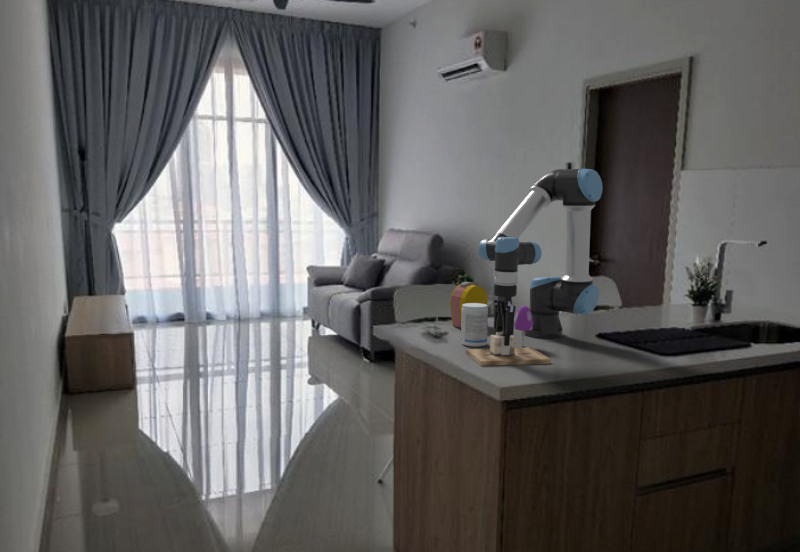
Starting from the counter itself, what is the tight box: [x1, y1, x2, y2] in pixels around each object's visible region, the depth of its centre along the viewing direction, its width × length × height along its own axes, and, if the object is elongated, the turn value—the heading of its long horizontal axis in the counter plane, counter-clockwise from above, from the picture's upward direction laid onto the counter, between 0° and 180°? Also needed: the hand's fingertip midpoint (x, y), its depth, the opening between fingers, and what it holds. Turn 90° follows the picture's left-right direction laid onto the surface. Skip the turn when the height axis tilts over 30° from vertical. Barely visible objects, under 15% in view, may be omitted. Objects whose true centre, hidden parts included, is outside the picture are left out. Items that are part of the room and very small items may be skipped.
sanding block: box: [489, 334, 516, 356], centre depth 211 cm, size 7×4×6 cm, turn 101°
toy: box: [514, 305, 533, 348], centre depth 229 cm, size 7×7×15 cm
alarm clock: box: [449, 281, 489, 329], centre depth 264 cm, size 15×8×18 cm, turn 133°
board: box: [465, 347, 552, 367], centre depth 212 cm, size 24×16×2 cm, turn 101°
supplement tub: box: [460, 303, 489, 348], centre depth 231 cm, size 10×10×15 cm
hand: (502, 352), depth 211 cm, fingers closed on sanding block, 4 cm apart
